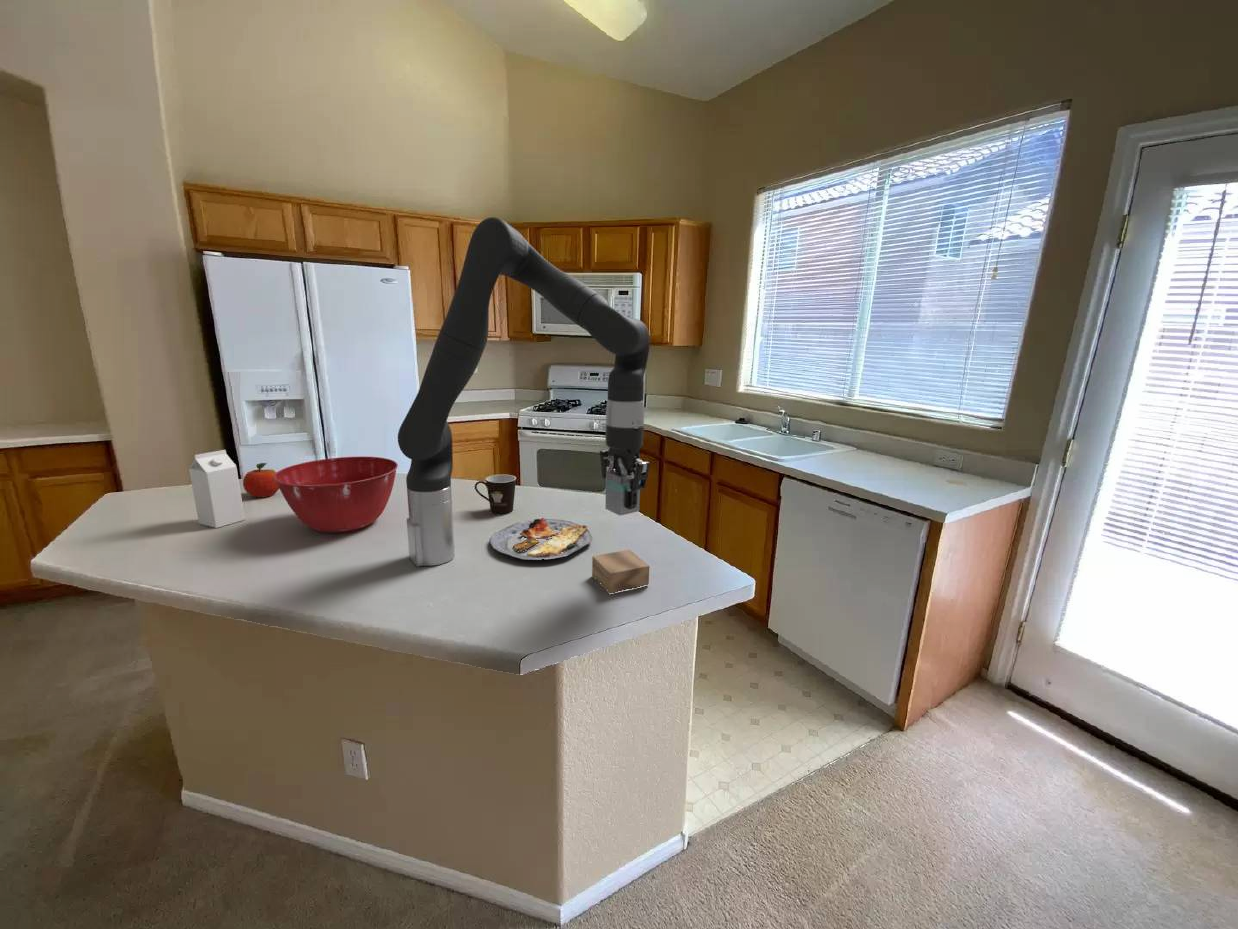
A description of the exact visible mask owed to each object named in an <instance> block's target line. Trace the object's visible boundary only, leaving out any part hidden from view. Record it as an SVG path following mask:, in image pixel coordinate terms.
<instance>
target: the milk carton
mask: <svg viewBox="0 0 1238 929" xmlns="http://www.w3.org/2000/svg"><path fill="white" fill-rule="evenodd" d="M188 471H189V475H190V476H189V477H190V482H191V486H192V494H193V498H194V504H195V509H196V514H197V520H198V523H199V525H203V526H208V527H211V528H215V529H217V528H221V527H224V526H228V525H231V524H234V523H238V522H241V521H244V520H245V519H246V518H245V512H244V506H243V505H244V504H243V500H242V498H243V497H242V493H241V492H242V491H241V486H240V482H239V474H238V468H237V464H236V463H234V461H233V460H232V459H231V457H230V456H229V455H228V454H227V450H226V449H221V450H217V451H216V450H215V451H210V452H204V453H197V454H194V461H193V462H192V463H191V465H190V466H189V467H188Z"/></svg>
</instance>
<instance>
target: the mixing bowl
mask: <svg viewBox="0 0 1238 929" xmlns="http://www.w3.org/2000/svg"><path fill="white" fill-rule="evenodd" d="M398 468H399V465H398V463H397V462H396V461H395V460H392V459H390V458H386V457H379V456H344V457H332V458H324V459H318V460H317V459H315V460H310V461H305V462H301V463H297V464H294V465H290V466H288V467H285V468H282V469H279V470H278V471H276V472H277V473H275V475H274V476H273V479H274V480H275V481H276V482H277V484H278V486H279V490H280V492H281V494H282V497H283V498H284V500H285V501H286V503H287V504H288V506H289V508H290V509H291V510H292V512H293V513H294V514H295V515H296V517H297V518H298V519H299V520H300V521H301V522H302V524H304V525H305V526H307V527H309V528H311V529H313V530H316V531H318V532H321V533H326V534H342V533H349V532H355V531H358V530H361V529H364V528H366V527H368V526H370V525H371V524H372V523H373V522H375V521H376V520H378V518H379V517H381V515H382V514H383V513H384V510H385V509H386V507H387V505H388V502H389V500H390V497H391V494H392V492H393V489H394V488H393V487H394V483H395V480H396V472H397V469H398Z"/></svg>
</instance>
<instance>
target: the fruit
mask: <svg viewBox="0 0 1238 929" xmlns="http://www.w3.org/2000/svg"><path fill="white" fill-rule="evenodd" d="M267 464H268V463H266V462H261V463H256V468H257V469H253V470H250V471H248V472H246V474H245V475H244V478H243V479H242V486H243V488H244V490H245V492H246V493H247V494H249V496H252V497H254V498H266V497H271V496H273V495H275V494H276V493H277V492H278V491H279V490H280V489H279V486H278V484H277V482H276V481H275V480H274V479H273V476H274V475H275V473H277V472H278V471H275V470H274V469H272V468H271V469H263V468H264V467H265V466H266V465H267Z"/></svg>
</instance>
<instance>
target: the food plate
mask: <svg viewBox="0 0 1238 929" xmlns="http://www.w3.org/2000/svg"><path fill="white" fill-rule="evenodd" d="M553 530H557V531H561V533H560V532H558V533H560V534H558V533H556V532H554V531H553ZM521 531H522V532H521ZM518 532H521V533H519V534H520V536H521V535H522V537H524V538H527V539H526V540H524V541H523V542H522V541H521V542H517V543H515V544H513V545H512V549H513V548H514V549H515V550H514V549H513V550H514V551H512V550H510V548H509V546H508V545H509V544H508V541H509V540H511V538H513V537H512V536H511V534H516V533H518ZM514 536H515V535H514ZM552 536H555V537H553V538H552V539H549V541H547V542H544V544H543V543H541V544H542V545H541V546H540V547H539V546H537V547H536V548H534V547H533V546H535V545H536V544H538V543H539V540H536V539H546V538H548V537H552ZM513 539H514V538H513ZM592 541H593V537H592V535H591V533H590V530H589V529H588V526H587V525H582V524H581V525H580V524H578V523H575V522H572V521H569V520H563V519H554V518H553V519H551V518H549V519H548V518H544V517H542V518H536V519H532V520H531V519H530V520H526V521H522V522H516V523H514V524H511V525H509V526H507V527H505V528H503V529H500V530H498V531H496V532H494V533H493V534H492V535H491V536H490V538H489V543H490V544H489V545H491V546H492V548H493V549H494V550H496V551H498V552H499V553H502V554H505V555H506V556H510V557H513V558H518V559H520V560H528V561H529V560H533V561H534V560H536V561H538V560H539V561H543V560H542V559H544V560H551V559H552V560H553V559H559V558H563V557H567V556H569V555H572V554H573V553H575V552H577V551H579V550H580V549H582V548H584V547H585V546H587V545H588V544H590V543H591V542H592ZM507 546H508V547H507ZM531 547H533V548H534V550H532V551H530V552H529V553H526V555H524V554H521V553H520V552H523V551H525V550H528V549H529V548H531ZM508 548H509V549H508ZM529 550H530V549H529ZM529 550H528V551H529ZM516 551H517V552H516ZM518 551H519V552H518ZM525 552H526V551H525ZM561 552H563V553H561ZM523 553H524V552H523Z"/></svg>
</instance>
